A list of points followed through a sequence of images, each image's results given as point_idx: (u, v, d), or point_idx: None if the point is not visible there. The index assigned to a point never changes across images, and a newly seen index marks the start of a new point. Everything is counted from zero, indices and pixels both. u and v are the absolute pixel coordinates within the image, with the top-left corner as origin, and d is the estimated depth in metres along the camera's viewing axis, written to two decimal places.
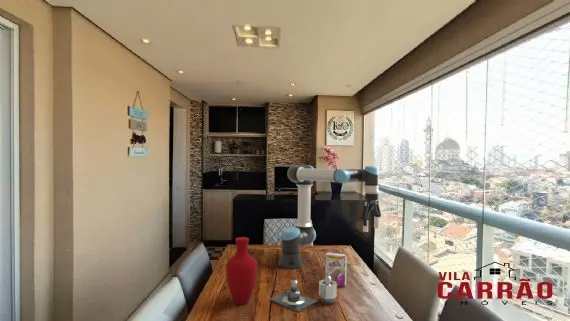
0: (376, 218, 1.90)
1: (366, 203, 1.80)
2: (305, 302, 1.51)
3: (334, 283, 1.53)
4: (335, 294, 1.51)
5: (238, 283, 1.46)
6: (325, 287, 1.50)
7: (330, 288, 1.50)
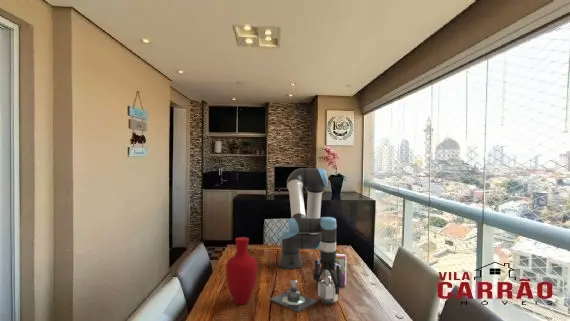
0: None
1: None
2: (305, 302, 1.51)
3: None
4: None
5: (238, 283, 1.46)
6: (325, 287, 1.50)
7: (330, 288, 1.50)
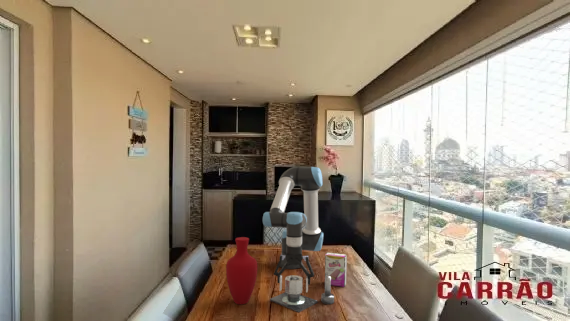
0: (306, 279, 1.53)
1: None
2: (305, 302, 1.51)
3: (300, 277, 1.54)
4: None
5: (238, 283, 1.46)
6: (296, 283, 1.49)
7: (300, 283, 1.51)
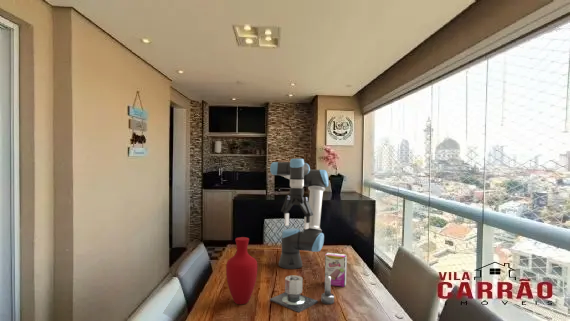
0: None
1: None
2: (305, 302, 1.51)
3: (300, 277, 1.54)
4: None
5: (238, 283, 1.46)
6: (296, 283, 1.49)
7: (300, 283, 1.51)
